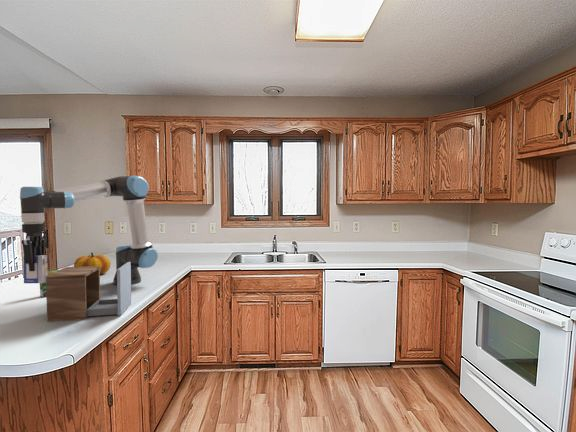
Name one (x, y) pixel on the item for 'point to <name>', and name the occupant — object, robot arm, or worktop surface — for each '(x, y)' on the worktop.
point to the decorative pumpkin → (94, 262)
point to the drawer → (122, 295)
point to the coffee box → (43, 285)
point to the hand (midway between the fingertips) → (36, 277)
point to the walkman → (41, 270)
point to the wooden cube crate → (72, 292)
